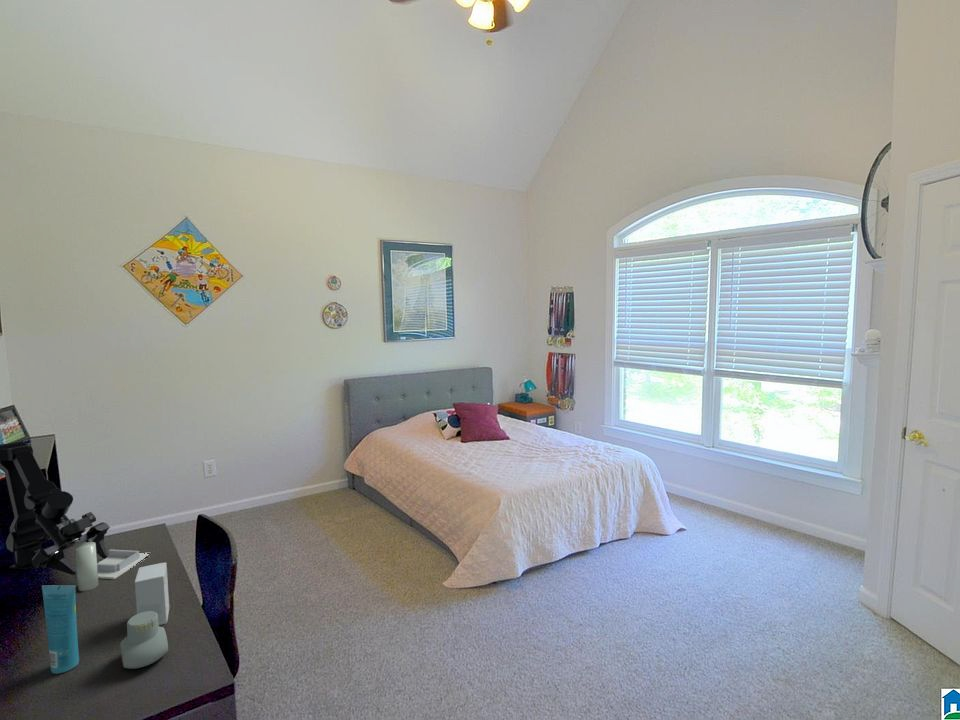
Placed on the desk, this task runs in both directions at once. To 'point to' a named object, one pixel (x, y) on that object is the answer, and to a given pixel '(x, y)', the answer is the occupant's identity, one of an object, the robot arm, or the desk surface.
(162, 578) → the small box
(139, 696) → the desk surface
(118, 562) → the white railed tray
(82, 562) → the domed peg
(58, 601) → the tube
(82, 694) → the desk surface
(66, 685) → the desk surface
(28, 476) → the robot arm
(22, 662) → the desk surface
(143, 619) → the air freshener
